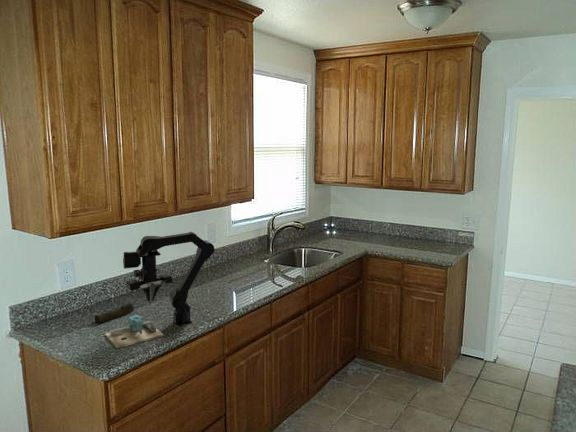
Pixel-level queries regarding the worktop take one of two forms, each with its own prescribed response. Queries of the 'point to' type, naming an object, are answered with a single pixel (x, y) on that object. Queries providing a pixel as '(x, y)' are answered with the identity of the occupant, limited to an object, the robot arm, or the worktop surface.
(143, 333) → the template board
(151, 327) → the fixed leg
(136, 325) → the sliding leg
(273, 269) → the worktop surface
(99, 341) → the worktop surface
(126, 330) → the rail
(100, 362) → the worktop surface
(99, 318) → the hand tool
